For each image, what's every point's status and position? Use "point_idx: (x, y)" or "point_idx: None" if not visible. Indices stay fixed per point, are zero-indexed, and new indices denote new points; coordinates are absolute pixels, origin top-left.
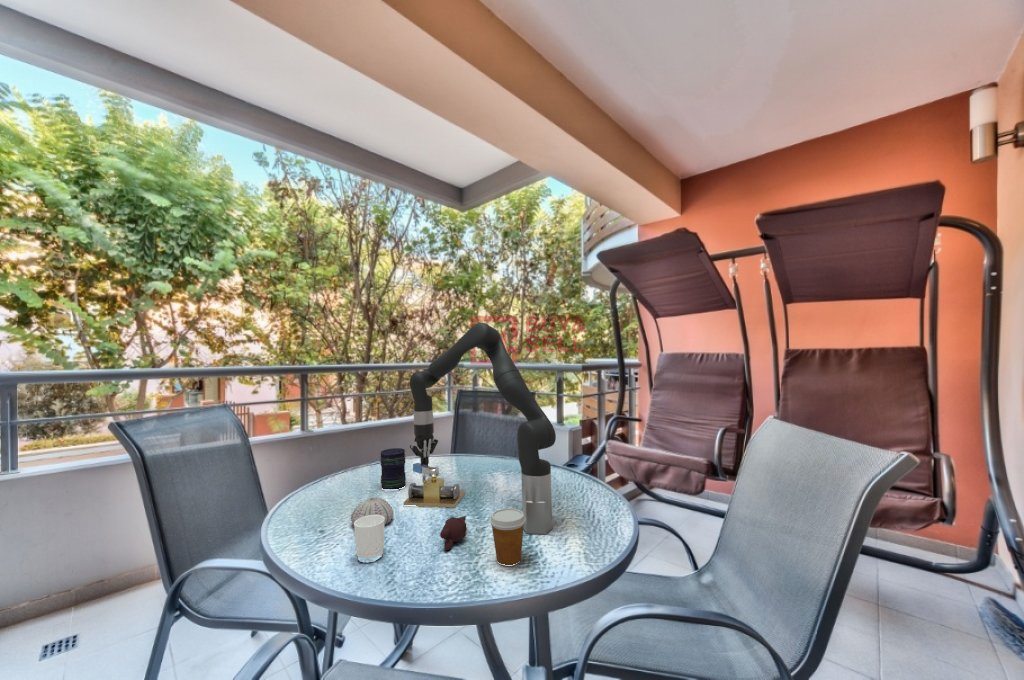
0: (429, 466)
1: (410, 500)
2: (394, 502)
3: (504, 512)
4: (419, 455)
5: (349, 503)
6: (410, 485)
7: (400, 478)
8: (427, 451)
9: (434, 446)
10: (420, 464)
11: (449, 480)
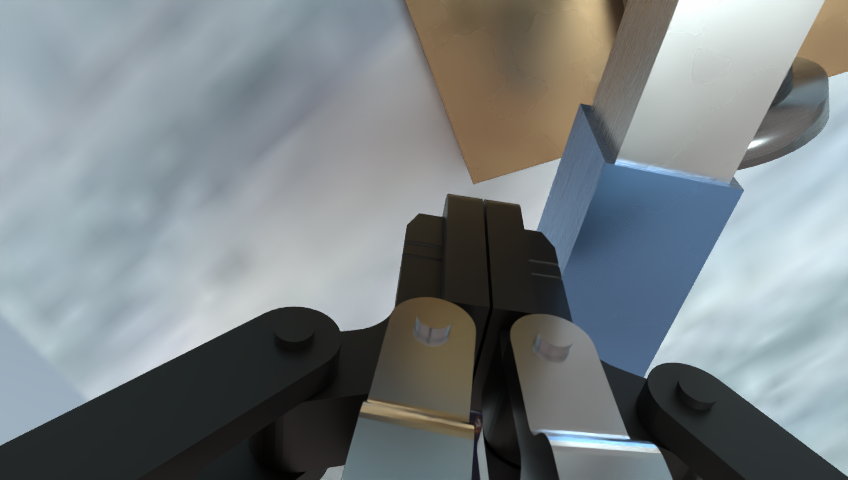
0: (686, 9)
1: (832, 18)
2: (768, 199)
3: None
4: (764, 416)
5: (839, 456)
6: (801, 135)
7: (480, 412)
8: (463, 408)
9: (96, 448)
10: (615, 274)
11: (26, 102)
